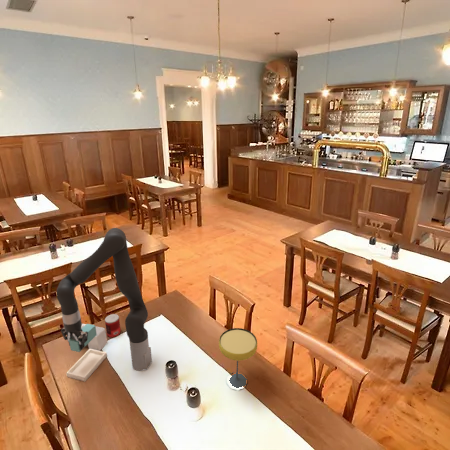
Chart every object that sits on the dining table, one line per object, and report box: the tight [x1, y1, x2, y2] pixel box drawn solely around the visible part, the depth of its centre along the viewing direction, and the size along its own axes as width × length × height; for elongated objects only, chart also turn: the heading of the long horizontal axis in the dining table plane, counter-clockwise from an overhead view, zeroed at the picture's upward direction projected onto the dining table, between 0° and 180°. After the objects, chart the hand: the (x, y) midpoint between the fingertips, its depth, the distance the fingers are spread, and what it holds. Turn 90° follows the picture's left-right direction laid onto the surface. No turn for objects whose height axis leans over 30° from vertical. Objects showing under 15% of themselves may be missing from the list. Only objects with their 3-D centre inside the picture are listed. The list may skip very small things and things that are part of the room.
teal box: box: [68, 323, 97, 353], centre depth 156 cm, size 5×13×7 cm, turn 164°
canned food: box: [104, 313, 122, 338], centre depth 185 cm, size 8×8×11 cm
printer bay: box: [81, 323, 108, 351], centre depth 176 cm, size 15×8×10 cm, turn 75°
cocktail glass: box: [218, 327, 258, 388], centre depth 150 cm, size 18×18×25 cm
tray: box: [66, 348, 108, 382], centre depth 162 cm, size 11×18×3 cm, turn 165°
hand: (77, 347), depth 153 cm, fingers closed on teal box, 5 cm apart
